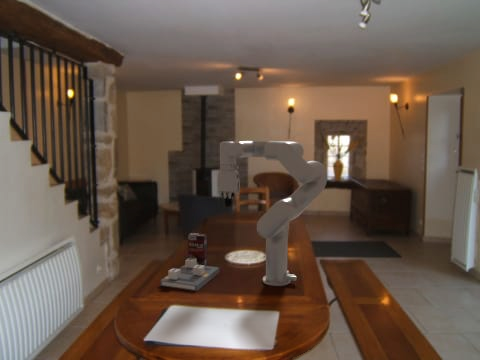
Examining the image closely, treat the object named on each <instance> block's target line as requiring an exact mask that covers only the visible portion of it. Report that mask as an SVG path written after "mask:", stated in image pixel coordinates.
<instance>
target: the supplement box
mask: <svg viewBox="0 0 480 360" xmlns="http://www.w3.org/2000/svg"><path fill="white" fill-rule="evenodd" d="M187 240H188V241H187V250H188V251H187V252H188V253H187V255H188V258H196V259H197V265H204V266H207V262H208V261H207V258H208V257H207V253H208V252H207V250H208V249H207V246H208V245H207V233H195V232H193V233H192V232H190V233H189V234H188V235H187ZM188 258H187V259H188Z"/></svg>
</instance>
